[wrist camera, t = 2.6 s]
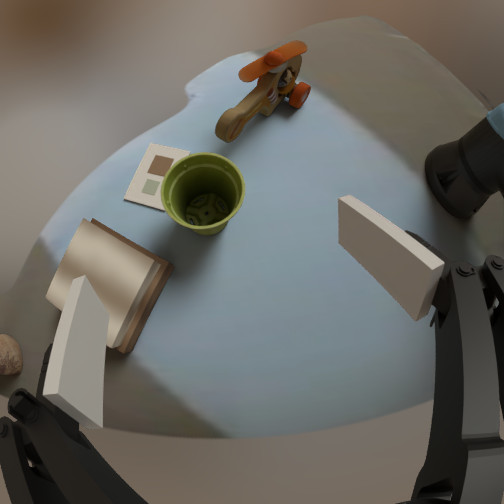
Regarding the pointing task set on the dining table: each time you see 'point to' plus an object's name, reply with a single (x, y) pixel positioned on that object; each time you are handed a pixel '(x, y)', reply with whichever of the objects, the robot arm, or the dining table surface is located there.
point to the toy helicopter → (266, 88)
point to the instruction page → (153, 175)
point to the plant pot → (203, 192)
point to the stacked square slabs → (113, 279)
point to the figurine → (10, 356)
